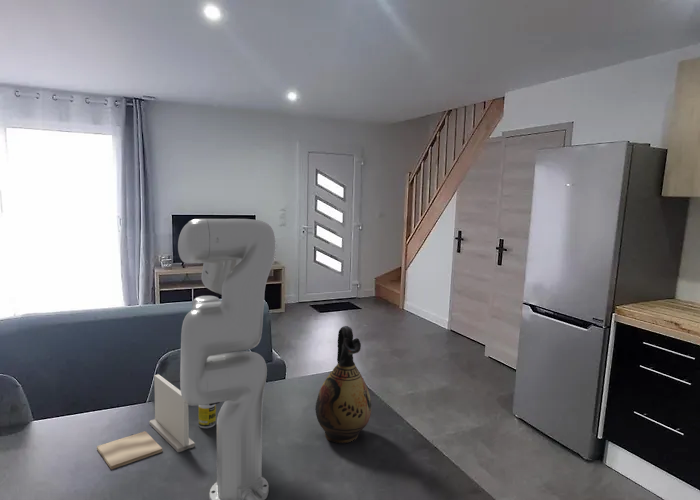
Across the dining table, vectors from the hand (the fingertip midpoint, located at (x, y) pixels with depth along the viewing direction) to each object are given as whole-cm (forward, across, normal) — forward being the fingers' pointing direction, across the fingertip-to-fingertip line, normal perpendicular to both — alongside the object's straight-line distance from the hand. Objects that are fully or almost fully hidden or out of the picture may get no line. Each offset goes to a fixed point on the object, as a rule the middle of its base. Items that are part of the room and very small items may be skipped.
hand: (206, 397), depth 130 cm
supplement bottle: (+8, -1, 0) cm, 8 cm away
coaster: (+7, -1, +21) cm, 23 cm away
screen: (+8, 0, +10) cm, 13 cm away
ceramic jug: (+7, -30, -26) cm, 40 cm away
